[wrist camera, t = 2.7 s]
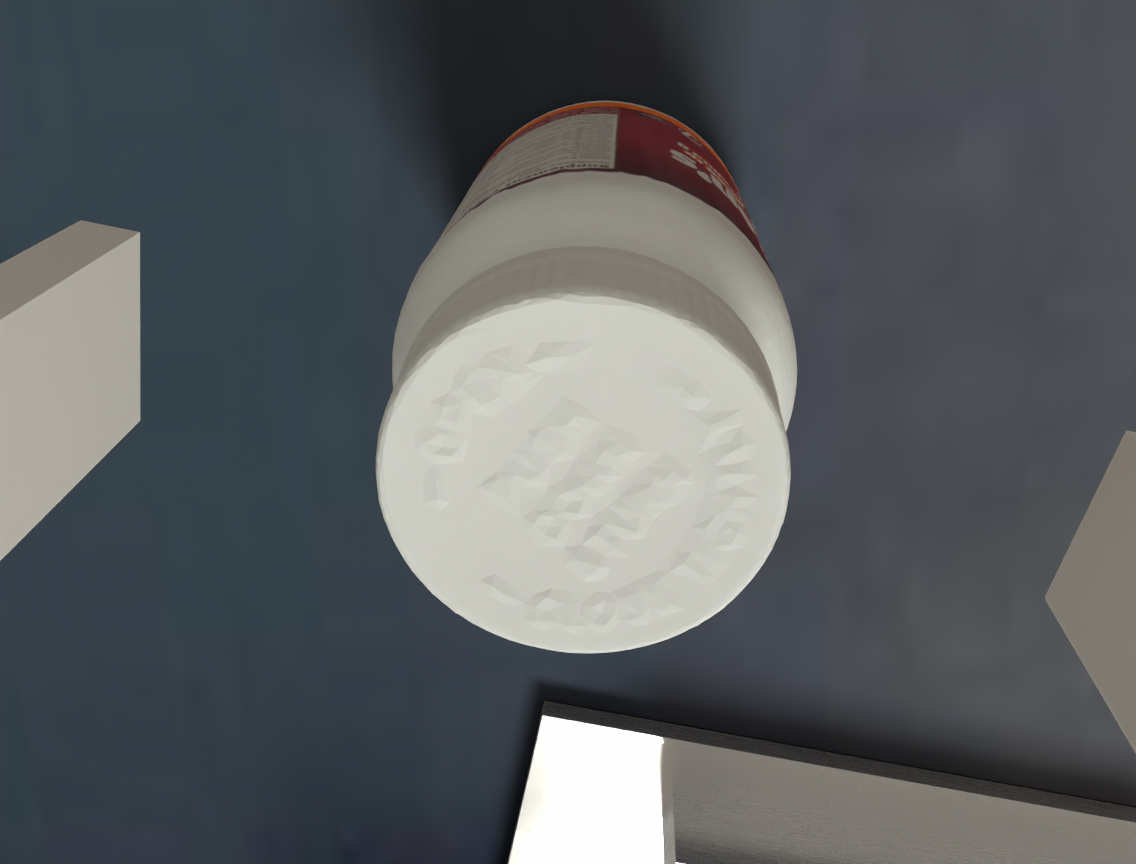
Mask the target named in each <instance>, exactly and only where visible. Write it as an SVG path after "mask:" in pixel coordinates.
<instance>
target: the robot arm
mask: <svg viewBox="0 0 1136 864" xmlns="http://www.w3.org/2000/svg"><path fill="white" fill-rule="evenodd" d="M139 421H140V232H136V231H131V230H126V229H121V228H116V227H111V226H106V225H101V224H96V223H91V222H86V221H79V222H77V223H75V224H73V225H71V226H69V227H68V228H66V229H64V230H62V231H60V232H58V233H57V234H55V235H53V236H51V237H49V238H47V239H45V240H44V241H42V242H40V243H38V244H36V245H34V246H32V247H31V248H29V249H27V250H25V251H23V252H21V253H20V254H18V255H16V256H14V257H12V258H10V259H8V260H7V261H5V262H3V263H1V264H0V561H1V560H2V559H3V558H4V557H5V556H6V555H7V554H8V553H9V552H10V551H11V550H12V549H13V548H14V547H15V546H16V545H17V544H18V543H19V542H20V541H21V540H22V539H23V538H24V537H25V536H26V535H27V534H28V533H29V532H30V531H31V530H32V529H33V528H34V527H35V526H36V525H37V524H38V523H39V522H40V521H41V520H42V519H43V518H44V517H45V515H46V514H47V513H48V512H49V511H50V510H51V509H52V508H53V507H54V506H55V505H56V504H57V503H58V502H59V501H60V500H61V499H62V498H63V497H64V496H65V495H66V494H67V493H68V492H69V491H70V490H71V489H72V488H73V487H74V486H75V485H76V484H77V483H78V482H79V481H80V480H81V479H82V478H83V477H84V476H85V475H86V474H87V473H88V472H89V471H90V470H91V469H92V468H93V467H94V466H95V465H96V464H97V463H98V462H99V461H100V460H101V459H102V458H103V457H104V456H105V455H106V454H107V453H108V452H109V451H110V450H111V449H112V448H113V447H114V446H115V445H116V444H117V443H118V442H119V441H120V440H121V439H122V438H123V437H124V436H125V435H126V434H127V433H128V432H129V431H130V430H131V429H132V428H133V427H134V426H135V425H136V424H137V423H138V422H139ZM1045 600H1046V602H1047V604H1048V605H1049V607H1050V609H1051V610H1052V612H1053V614H1054V615H1055V617H1056V619H1057V621H1058V622H1059V624H1060V626H1061V627H1062V629H1063V631H1064V632H1065V634H1066V636H1067V638H1068V639H1069V641H1070V643H1071V644H1072V646H1073V648H1074V649H1075V651H1076V653H1077V655H1078V656H1079V658H1080V660H1081V661H1082V663H1083V665H1084V666H1085V668H1086V670H1087V672H1088V673H1089V675H1090V677H1091V678H1092V680H1093V682H1094V683H1095V685H1096V687H1097V689H1098V690H1099V692H1100V694H1101V695H1102V697H1103V699H1104V700H1105V702H1106V704H1107V706H1108V707H1109V709H1110V711H1111V712H1112V714H1113V716H1114V717H1115V719H1116V721H1117V723H1118V724H1119V726H1120V728H1121V729H1122V731H1123V733H1124V734H1125V736H1126V738H1127V740H1128V741H1129V743H1130V745H1131V746H1132V748H1133V750H1134V751H1135V753H1136V432H1131V431H1126V432H1125V434H1124V436H1123V438H1122V440H1121V442H1120V444H1119V446H1118V448H1117V450H1116V453H1115V455H1114V457H1113V459H1112V461H1111V463H1110V465H1109V467H1108V469H1107V471H1106V473H1105V475H1104V477H1103V479H1102V481H1101V483H1100V485H1099V487H1098V489H1097V491H1096V493H1095V495H1094V497H1093V500H1092V502H1091V504H1090V506H1089V508H1088V510H1087V512H1086V514H1085V516H1084V518H1083V520H1082V522H1081V524H1080V526H1079V528H1078V530H1077V532H1076V534H1075V536H1074V538H1073V540H1072V542H1071V544H1070V547H1069V549H1068V551H1067V553H1066V555H1065V557H1064V559H1063V561H1062V563H1061V565H1060V567H1059V569H1058V571H1057V573H1056V575H1055V577H1054V579H1053V581H1052V583H1051V585H1050V587H1049V589H1048V591H1047V594H1046V596H1045Z"/></svg>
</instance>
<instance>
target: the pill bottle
mask: <svg viewBox="0 0 1136 864" xmlns="http://www.w3.org/2000/svg"><path fill="white" fill-rule="evenodd" d="M392 380H393V392H392V394H391V396H390V399H389V401H388V404H387V407H386V409H385V412H384V416H383V419H382V423H381V426H380V430H379V435H378V443H377V453H376V479H377V489H378V496H379V503H380V506H381V510H382V513H383V516H384V520H385V522H386V525H387V527H388V530H389V532H390V534H391V536H392V538H393V541H394V543H395V544H396V546H397V548H398V550H399V551H400V553H401V555H402V557H403V558H404V560H405V561H406V563H407V564H408V566H409V567H410V568H411V570H412V571H413V572H414V574H415V575H416V576H417V577H418V578H419V580H420V581H421V582H422V583H423V584H424V585H425V586H426V587H427V588H428V589H429V590H430V592H431V593H432V594H433V595H435V596H436V597H437V598H438V599H439V600H441V601H442V602H443V603H444V604H446V605H447V606H448V607H449V608H450V609H452V610H453V611H454V612H455V613H457V614H459V615H461V616H462V617H464V618H465V619H467V620H468V621H470V622H472V623H473V624H475V625H477V626H479V627H481V628H483V629H485V630H487V631H489V632H491V633H494V634H496V635H498V636H501V637H503V638H506V639H508V640H511V641H515V642H518V643H521V644H525V645H528V646H533V647H538V648H543V649H548V650H553V651H560V652H569V653H605V652H616V651H622V650H629V649H634V648H638V647H643V646H647V645H651V644H654V643H657V642H660V641H663V640H666V639H669V638H671V637H674V636H676V635H678V634H681V633H683V632H685V631H687V630H688V629H691V628H693V627H695V626H698V625H699V624H700V623H702V622H703V621H705V620H707V619H709V618H710V617H711V616H713V615H714V614H716V613H717V612H719V611H720V610H722V609H723V608H724V607H725V606H726V605H727V604H729V603H730V602H731V601H732V600H733V599H734V598H735V597H736V596H737V595H738V594H739V593H740V592H741V591H742V590H743V589H744V588H745V587H746V586H747V584H748V583H749V582H750V581H751V580H752V578H753V577H754V576H755V575H756V573H757V572H758V570H759V569H760V568H761V566H762V565H763V563H764V562H765V560H766V558H767V557H768V555H769V554H770V552H771V550H772V548H773V546H774V543H775V541H776V539H777V537H778V535H779V532H780V528H781V526H782V524H783V522H784V517H785V513H786V509H787V503H788V497H789V488H790V478H791V470H790V453H789V446H788V440H787V436H786V430H787V428H788V424H789V421H790V417H791V414H792V410H793V404H794V399H795V392H796V385H797V360H796V348H795V341H794V335H793V331H792V326H791V322H790V318H789V315H788V312H787V308H786V305H785V303H784V300H783V297H782V293H781V291H780V288H779V286H778V283H777V281H776V278H775V276H774V274H773V272H772V270H771V268H770V266H769V263H768V261H767V258H766V255H765V252H764V250H763V248H762V246H761V244H760V242H759V240H758V237H757V235H756V231H755V228H754V226H753V223H752V221H751V219H750V217H749V215H748V212H747V210H746V207H745V204H744V202H743V200H742V198H741V195H740V193H739V190H738V188H737V186H736V185H735V183H734V181H733V179H732V177H731V175H730V173H729V172H728V170H727V168H726V167H725V165H724V163H723V162H722V160H721V159H720V158H719V156H718V155H717V154H716V153H715V151H714V150H713V149H712V148H711V147H710V146H709V145H708V143H707V142H705V141H704V140H703V139H702V138H701V137H700V136H699V135H698V134H697V133H695V132H694V131H693V130H691V129H690V128H689V127H687V126H686V125H684V124H683V123H681V122H679V121H678V120H676V119H674V118H673V117H671V116H669V115H666V114H664V113H662V112H660V111H657V110H654V109H651V108H648V107H645V106H641V105H637V104H634V103H627V102H621V101H607V100H605V101H589V102H583V103H577V104H573V105H569V106H565V107H561V108H559V109H556V110H553V111H550V112H548V113H546V114H544V115H542V116H540V117H538V118H536V119H534V120H532V121H531V122H529V123H527V124H526V125H524V126H523V127H521V128H520V129H519V130H517V131H516V132H515V133H514V134H512V135H511V136H510V137H509V138H508V139H507V140H506V141H505V142H504V143H503V144H502V145H501V146H500V147H499V148H498V149H497V150H496V151H495V152H494V154H493V155H492V156H491V157H490V159H489V160H488V161H487V162H486V164H485V165H484V167H483V168H482V169H481V171H480V172H479V174H478V176H477V177H476V179H475V180H474V182H473V184H472V185H471V187H470V189H469V191H468V192H467V194H466V196H465V197H464V199H463V201H462V202H461V204H460V205H459V207H458V209H457V210H456V212H455V214H454V215H453V217H452V218H451V220H450V222H449V223H448V225H447V227H446V228H445V230H444V232H443V233H442V235H441V236H440V238H439V240H438V241H437V243H436V244H435V246H434V248H433V249H432V251H431V252H430V254H429V255H428V256H427V258H426V259H425V261H424V262H423V264H422V265H421V266H420V268H419V270H418V272H417V274H416V276H415V278H414V280H413V282H412V284H411V286H410V289H409V291H408V294H407V297H406V299H405V302H404V304H403V307H402V309H401V313H400V317H399V320H398V324H397V328H396V332H395V338H394V345H393V355H392Z"/></svg>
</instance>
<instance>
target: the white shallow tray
mask: <svg viewBox="0 0 1136 864" xmlns="http://www.w3.org/2000/svg"><path fill="white" fill-rule="evenodd" d="M507 864H1136V808H1134V807H1129V806H1123V805H1118V804H1112V803H1107V802H1101V801H1096V800H1090V799H1085V798H1079V797H1074V796H1068V795H1063V794H1057V793H1052V792H1046V791H1041V790H1035V789H1030V788H1024V787H1018V786H1013V785H1007V784H1002V783H996V782H991V781H985V780H980V779H974V778H969V777H963V776H958V775H952V774H947V773H941V772H936V771H930V770H925V769H919V768H914V767H908V766H903V765H897V764H892V763H886V762H881V761H875V760H870V759H864V758H858V757H853V756H847V755H842V754H836V753H831V752H825V751H820V750H814V749H809V748H803V747H798V746H792V745H787V744H781V743H776V742H770V741H765V740H759V739H754V738H748V737H743V736H737V735H732V734H726V733H721V732H715V731H709V730H704V729H698V728H693V727H687V726H682V725H676V724H671V723H665V722H660V721H654V720H649V719H643V718H638V717H632V716H627V715H621V714H616V713H610V712H605V711H599V710H594V709H588V708H583V707H577V706H572V705H566V704H561V703H555V702H549V701H544V703H543V707H542V712H541V716H540V721H539V725H538V729H537V734H536V738H535V742H534V747H533V751H532V755H531V760H530V764H529V769H528V773H527V777H526V782H525V786H524V790H523V795H522V799H521V803H520V808H519V812H518V817H517V821H516V825H515V830H514V834H513V838H512V843H511V847H510V851H509V856H508V860H507Z"/></svg>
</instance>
